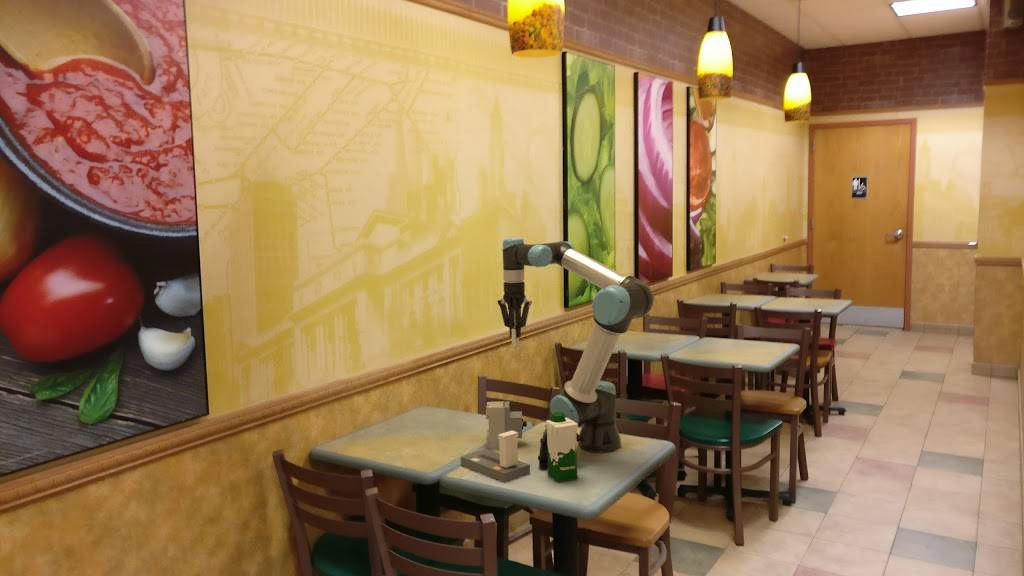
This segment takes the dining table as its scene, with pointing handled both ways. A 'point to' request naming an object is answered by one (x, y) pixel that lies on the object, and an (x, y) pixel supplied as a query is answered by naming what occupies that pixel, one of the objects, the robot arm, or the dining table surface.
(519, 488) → the dining table surface
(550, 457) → the milk carton
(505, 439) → the cream rectangular box
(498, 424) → the circuit breaker
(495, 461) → the switch panel
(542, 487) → the dining table surface
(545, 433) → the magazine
